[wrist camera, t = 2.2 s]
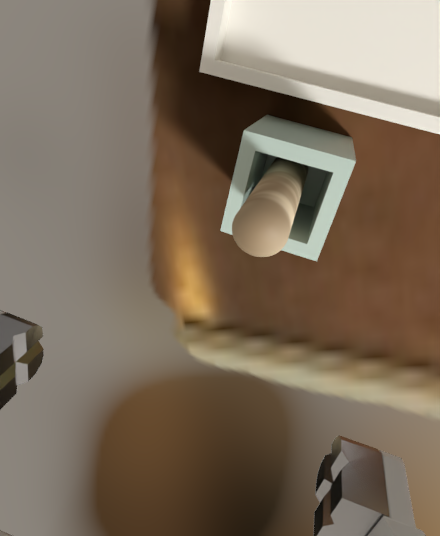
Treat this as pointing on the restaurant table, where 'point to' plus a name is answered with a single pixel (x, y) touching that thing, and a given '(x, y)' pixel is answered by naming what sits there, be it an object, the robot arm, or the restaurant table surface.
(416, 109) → the melamine tray
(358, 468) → the robot arm
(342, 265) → the restaurant table surface
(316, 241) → the celadon cup
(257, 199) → the beech dowel
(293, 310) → the restaurant table surface
